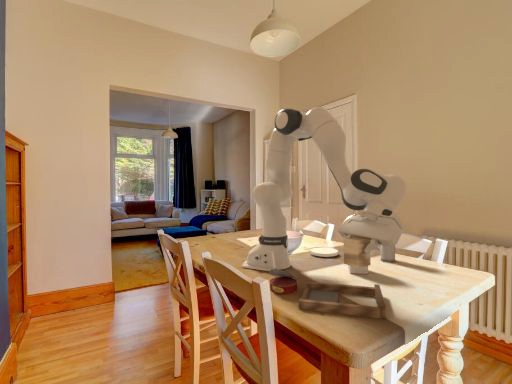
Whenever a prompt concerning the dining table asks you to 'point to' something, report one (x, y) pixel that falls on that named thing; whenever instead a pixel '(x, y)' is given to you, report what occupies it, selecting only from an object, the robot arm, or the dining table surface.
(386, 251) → the travel mug
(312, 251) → the plastic lid
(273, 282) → the canned food
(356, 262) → the tan wooden block
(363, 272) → the milk carton
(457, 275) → the dining table surface
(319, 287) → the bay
